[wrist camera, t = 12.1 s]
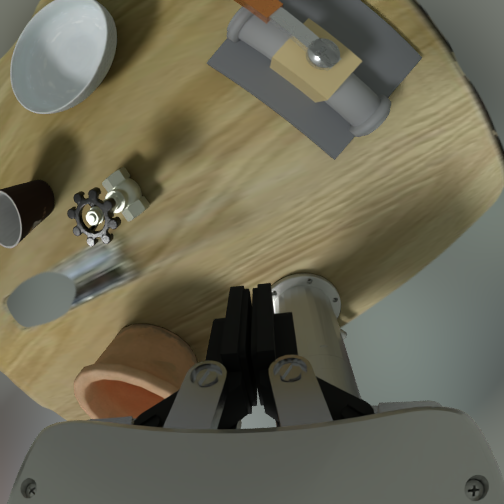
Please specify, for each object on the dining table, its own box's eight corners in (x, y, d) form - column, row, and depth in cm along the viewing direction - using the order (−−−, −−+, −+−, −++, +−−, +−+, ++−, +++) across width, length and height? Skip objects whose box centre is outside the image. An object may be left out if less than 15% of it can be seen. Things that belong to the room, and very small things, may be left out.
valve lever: (341, 57, 24) (347, 54, 22) (321, 75, 25) (325, 73, 23) (239, -24, 20) (237, -32, 19) (218, -6, 21) (215, -13, 20)
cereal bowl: (147, 72, 33) (125, 65, 27) (57, 132, 36) (28, 138, 30) (110, -14, 26) (88, -29, 20) (28, 49, 29) (0, 46, 23)
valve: (136, 158, 38) (93, 177, 27) (162, 196, 40) (129, 228, 30) (103, 184, 40) (57, 210, 29) (128, 220, 42) (90, 257, 31)
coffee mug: (50, 166, 38) (9, 183, 29) (65, 217, 42) (29, 242, 33) (8, 186, 39) (-30, 204, 30) (22, 230, 43) (-12, 255, 34)
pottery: (160, 402, 60) (146, 454, 47) (84, 339, 53) (54, 390, 40) (234, 370, 54) (229, 433, 41) (149, 289, 47) (117, 350, 34)
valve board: (417, 59, 31) (453, 50, 22) (332, 158, 38) (352, 171, 29) (303, -34, 26) (313, -66, 17) (208, 64, 33) (193, 50, 24)
